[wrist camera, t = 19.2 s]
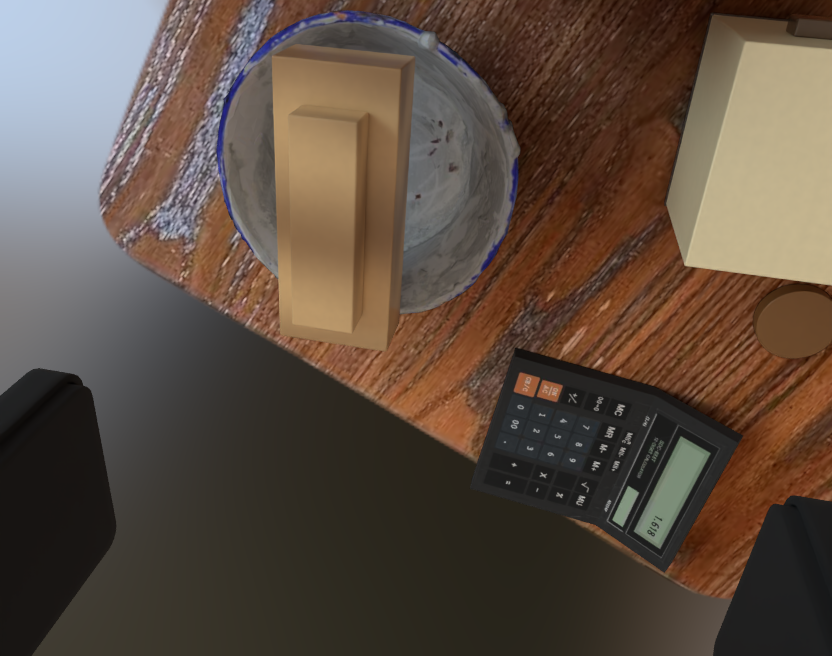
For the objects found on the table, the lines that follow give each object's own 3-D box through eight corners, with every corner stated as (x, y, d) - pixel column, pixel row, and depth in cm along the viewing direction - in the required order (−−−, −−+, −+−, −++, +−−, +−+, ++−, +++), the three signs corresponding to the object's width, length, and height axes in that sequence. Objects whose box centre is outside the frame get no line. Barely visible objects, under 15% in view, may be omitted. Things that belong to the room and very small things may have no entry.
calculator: (515, 347, 39) (511, 379, 37) (734, 409, 38) (746, 445, 36) (472, 478, 44) (465, 514, 41) (666, 535, 43) (671, 574, 41)
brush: (307, 36, 29) (254, 63, 24) (423, 48, 28) (392, 78, 23) (309, 292, 34) (266, 354, 29) (406, 306, 34) (378, 372, 29)
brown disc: (748, 354, 36) (744, 346, 37) (827, 363, 35) (823, 354, 36) (766, 287, 34) (762, 280, 35) (850, 295, 34) (845, 287, 34)
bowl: (261, -26, 32) (215, -16, 28) (553, 30, 31) (551, 49, 27) (249, 244, 39) (211, 285, 35) (491, 298, 38) (481, 346, 34)
